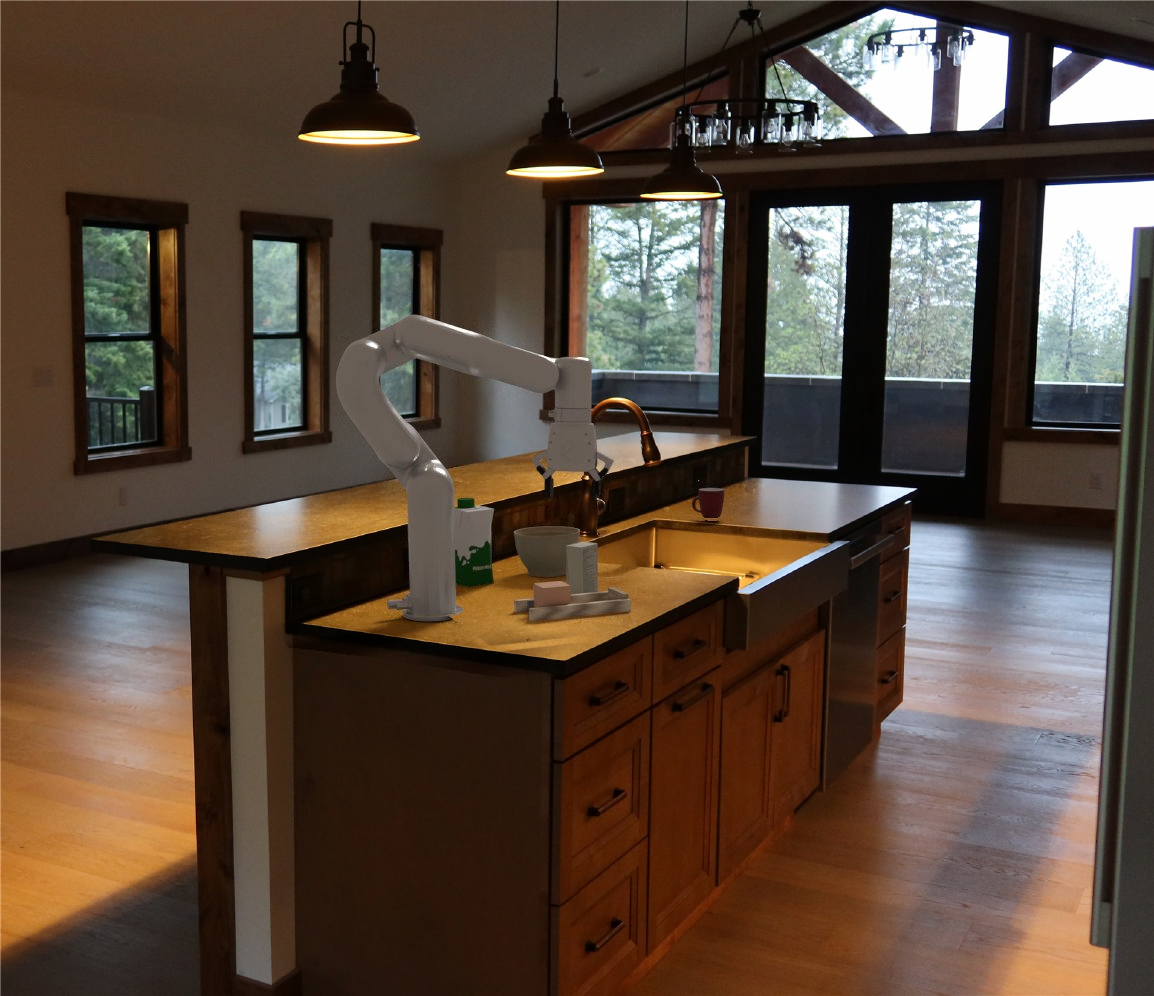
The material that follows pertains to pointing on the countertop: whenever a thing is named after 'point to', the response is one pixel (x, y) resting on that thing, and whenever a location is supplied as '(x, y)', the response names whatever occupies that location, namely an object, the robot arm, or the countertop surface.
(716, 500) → the mug
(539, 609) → the chute
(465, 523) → the milk carton
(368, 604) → the countertop surface
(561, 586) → the block
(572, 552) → the skincare box
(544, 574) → the planter bowl
